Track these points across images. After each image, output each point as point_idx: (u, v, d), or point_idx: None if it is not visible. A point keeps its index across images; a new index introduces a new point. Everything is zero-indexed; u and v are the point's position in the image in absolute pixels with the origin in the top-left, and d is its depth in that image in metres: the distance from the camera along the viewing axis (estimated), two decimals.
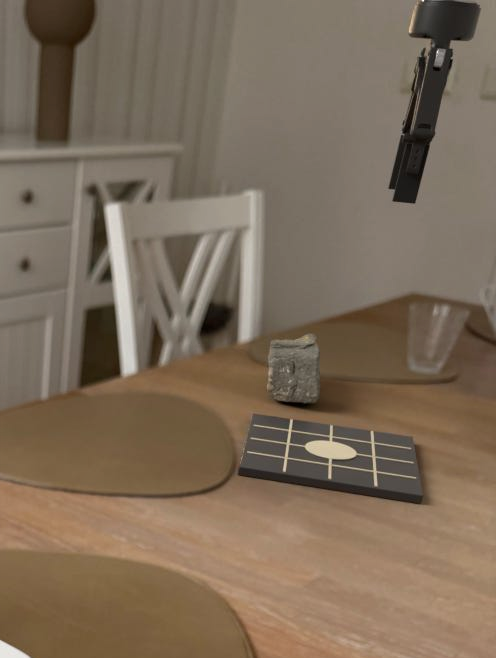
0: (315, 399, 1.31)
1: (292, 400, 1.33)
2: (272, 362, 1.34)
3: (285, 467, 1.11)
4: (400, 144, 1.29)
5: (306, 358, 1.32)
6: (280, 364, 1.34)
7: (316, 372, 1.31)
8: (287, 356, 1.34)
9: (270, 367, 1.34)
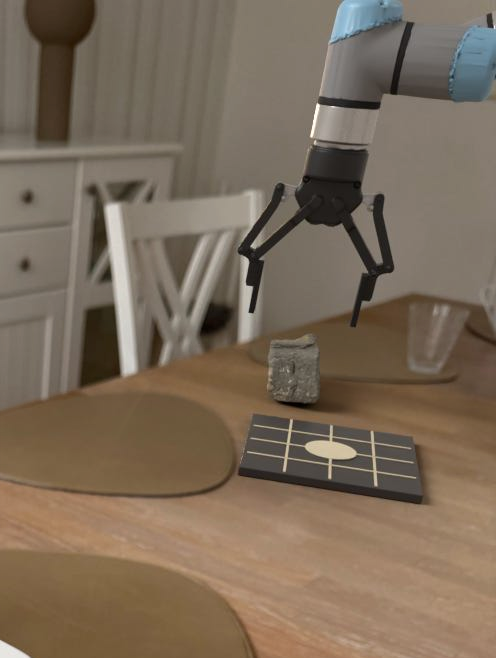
0: (315, 399, 1.31)
1: (292, 400, 1.33)
2: (272, 362, 1.34)
3: (285, 467, 1.11)
4: None
5: (306, 358, 1.32)
6: (280, 364, 1.34)
7: (316, 372, 1.31)
8: (287, 356, 1.34)
9: (270, 367, 1.34)
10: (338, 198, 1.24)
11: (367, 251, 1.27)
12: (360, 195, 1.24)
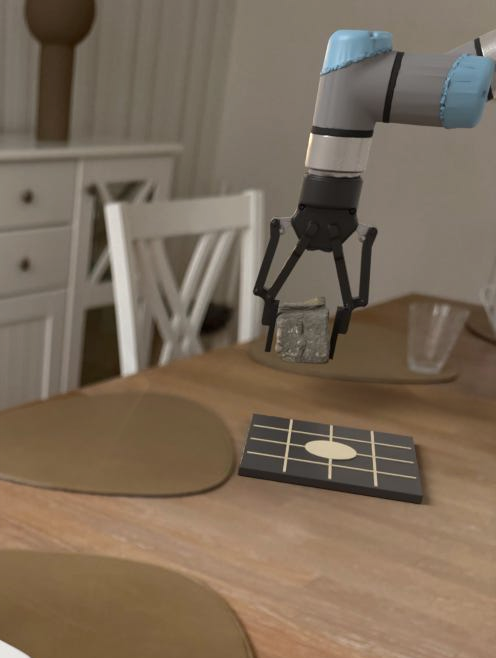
0: (325, 359, 1.28)
1: (301, 361, 1.30)
2: (280, 323, 1.32)
3: (285, 467, 1.11)
4: None
5: (315, 317, 1.29)
6: (288, 324, 1.31)
7: (325, 331, 1.28)
8: (296, 317, 1.31)
9: (278, 328, 1.32)
10: (335, 225, 1.26)
11: (348, 284, 1.29)
12: (356, 221, 1.25)
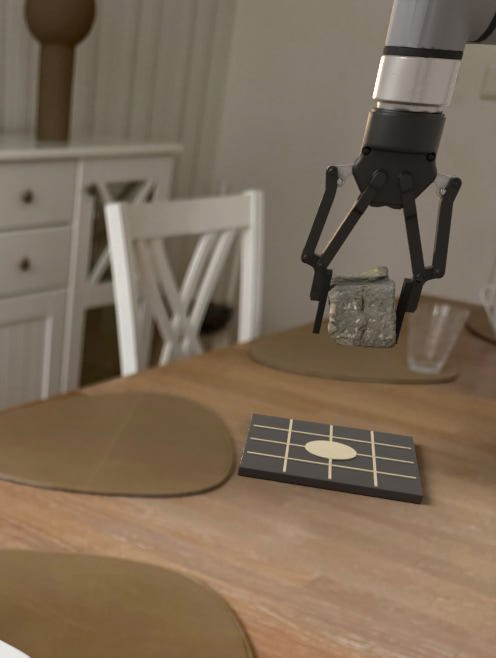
0: (390, 342, 1.03)
1: (360, 344, 1.05)
2: (335, 297, 1.06)
3: (285, 467, 1.11)
4: None
5: (379, 290, 1.04)
6: (344, 299, 1.06)
7: (392, 308, 1.03)
8: (354, 290, 1.06)
9: (332, 303, 1.06)
10: (408, 174, 1.00)
11: (420, 250, 1.04)
12: (434, 169, 1.00)
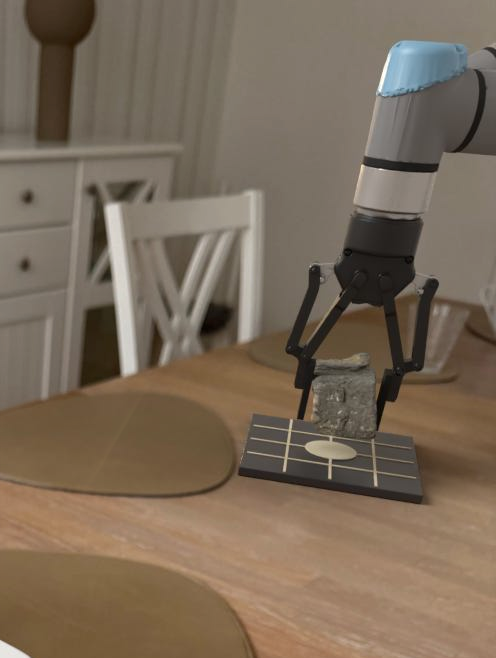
0: (371, 434, 1.07)
1: (342, 435, 1.09)
2: (318, 388, 1.10)
3: (285, 467, 1.11)
4: (382, 378, 1.12)
5: (360, 384, 1.08)
6: (327, 390, 1.10)
7: (373, 401, 1.07)
8: (337, 381, 1.10)
9: (315, 394, 1.10)
10: (388, 275, 1.04)
11: (400, 344, 1.08)
12: (413, 271, 1.04)
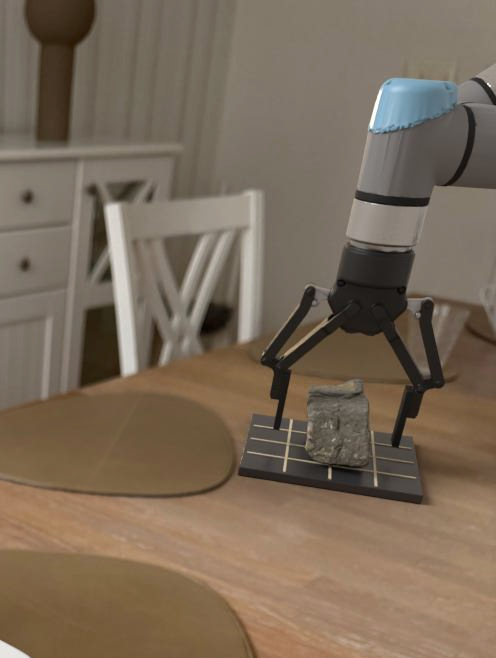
0: (365, 462, 1.09)
1: (336, 462, 1.10)
2: (312, 416, 1.12)
3: (285, 467, 1.11)
4: (403, 394, 1.13)
5: (354, 412, 1.10)
6: (321, 418, 1.11)
7: (366, 429, 1.09)
8: (330, 409, 1.11)
9: (309, 422, 1.12)
10: (379, 305, 1.06)
11: (413, 364, 1.08)
12: (405, 301, 1.06)
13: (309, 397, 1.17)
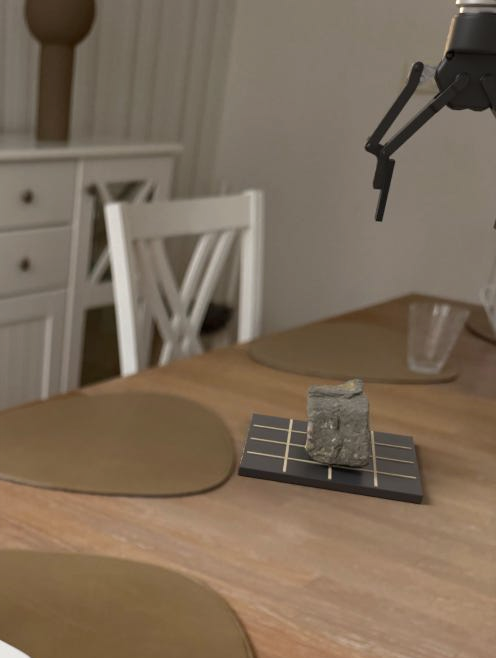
0: (365, 462, 1.09)
1: (336, 462, 1.10)
2: (312, 416, 1.12)
3: (285, 467, 1.11)
4: None
5: (354, 412, 1.10)
6: (321, 418, 1.11)
7: (366, 429, 1.09)
8: (330, 409, 1.11)
9: (309, 422, 1.12)
10: (489, 75, 1.06)
11: None
12: None
13: (309, 397, 1.17)
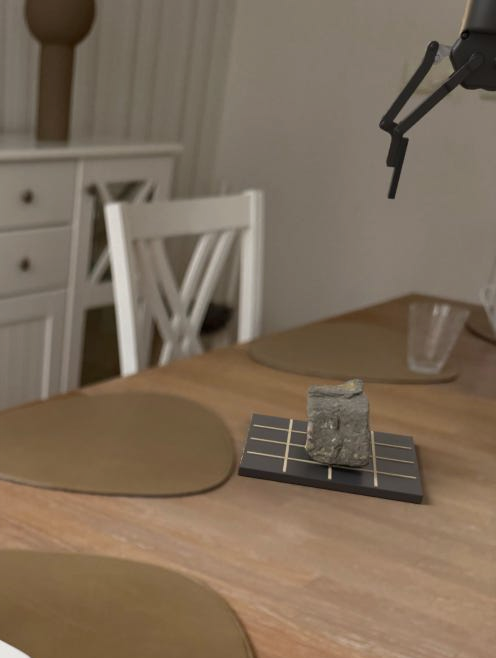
0: (365, 462, 1.09)
1: (336, 462, 1.10)
2: (312, 416, 1.12)
3: (285, 467, 1.11)
4: None
5: (354, 412, 1.10)
6: (321, 418, 1.11)
7: (366, 429, 1.09)
8: (330, 409, 1.11)
9: (309, 422, 1.12)
10: None
11: None
12: None
13: (309, 397, 1.17)
